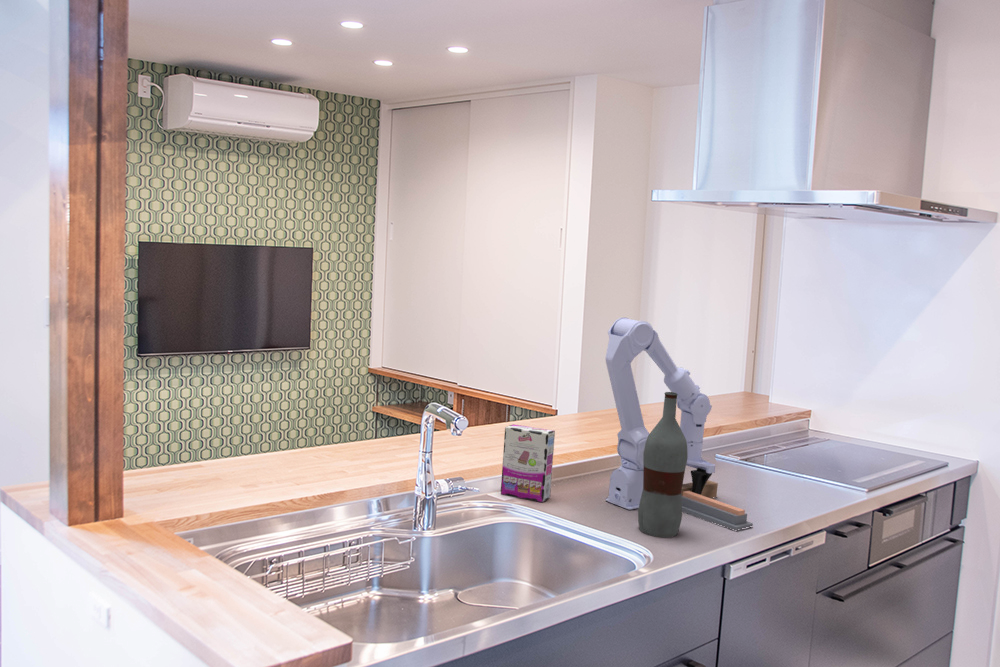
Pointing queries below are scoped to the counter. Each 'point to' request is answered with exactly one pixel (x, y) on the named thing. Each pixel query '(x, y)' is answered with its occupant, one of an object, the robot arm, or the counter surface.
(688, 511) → the stand
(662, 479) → the bottle
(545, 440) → the candy bar box
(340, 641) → the counter surface
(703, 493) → the walnut bar
